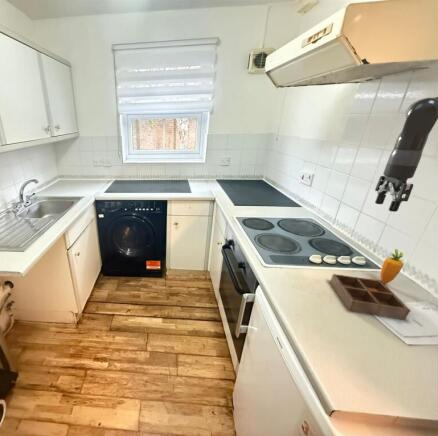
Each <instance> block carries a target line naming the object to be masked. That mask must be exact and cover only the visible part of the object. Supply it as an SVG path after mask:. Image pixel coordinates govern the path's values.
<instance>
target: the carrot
mask: <svg viewBox="0 0 438 436" xmlns="http://www.w3.org/2000/svg"><path fill="white" fill-rule="evenodd" d="M390 255H391V256H392V257H387V258H385V259H384V262H383V264H382V266H381V270H380V281H382V282H383V283H384V284H385V285H388V284H389V283H391V282H392V281H393V280H395V278H396V277H397V276H398V275H399V274H400V272H401V270H402V269H403V267H404V262H403V261H402V260H401V258H403V257H404V253H403V252H401V251H400V252H399V250H398V248H394V253H393V252H391V253H390Z"/></svg>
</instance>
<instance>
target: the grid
mask: <svg viewBox="0 0 438 436" xmlns="http://www.w3.org/2000/svg"><path fill="white" fill-rule="evenodd" d="M329 283H330V285H331V286H332V288H333V289H334V292H336V294H337V296H338V297H339V298H340V299H341V301H342V303H343V304H344V306H345V307H346V309H347V310H348V311H349V312H355V313H361V314H367V315H373V316H379V317H385V318H390V319H395V320H396V319H397V320H402V321H406V320H407V317H408V316H409V314H410V312H411V309H410V308H409V307H408V306H407V305H406V304H405V303H404V302H403V301H402V300H401V299H400V297H398V296H397V295H396V294H395V293H394V292H393V291H392V290H391V289H390V288H389V287H388V286H387V284H384V283H383V282H382V281H381V279H379V280H378V279H372V278H366V277H365V278H364V277H357V276H350V275H343V274H335V273H332V275H331V279H330V282H329Z"/></svg>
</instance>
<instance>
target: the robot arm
mask: <svg viewBox="0 0 438 436" xmlns="http://www.w3.org/2000/svg"><path fill="white" fill-rule="evenodd" d="M404 113H405V115H404V116H405V121H404V124H403V127H402V130H401V132H399V134H398V136H397V138H396V140H395V143H394V146H393V149H392V150H391V153H390V154H389V156H388V160H387V161H386V165H385V167H384V171H383V175H380V177H379V179H378V181H377V183H376V186H375V189H374V191H375V192H376V194H377V196H376V199H375V200H374V201H375V202H374V203H375V204H376V205H383V204H384V202H385V200H386V197H387V194H388V193H389V194H390V196H391V198H392V200H391V202H390V204H389V207H388V211H389V212H393V213H394V212H398V211H399V208H400V206H401V204H402V203H404V202H408V201H409V199H410V196H411V193H412V191H413V189H414V188H413V187H414V183H408V182H407V181H408V180H409V179H412V178H414V176H415V174H416V171H417V169H418V167H419V164H420V162H421V159H422V155H423V153H424V152H423V151H424V149H425V146H426V144H427V142H428V139H429V135H430V134H431V132H432V130H433V128H434V126H435V125H436V123H437V121H438V96H436V97H424V98H421V99H418V100H416V101H415V102H412V103H411V104H410V105H409V106H408V107H407V108H406V111H405V112H404Z"/></svg>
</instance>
